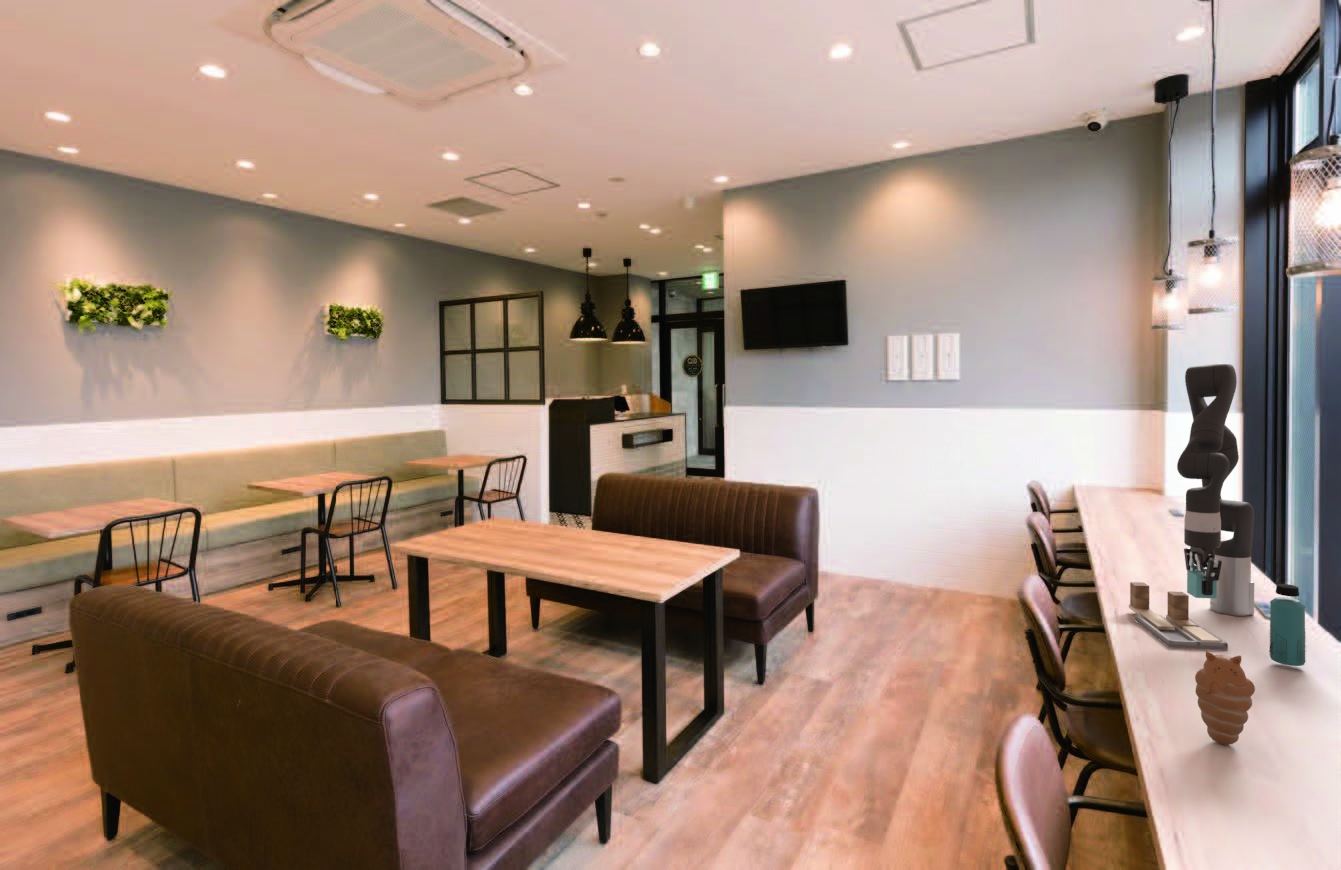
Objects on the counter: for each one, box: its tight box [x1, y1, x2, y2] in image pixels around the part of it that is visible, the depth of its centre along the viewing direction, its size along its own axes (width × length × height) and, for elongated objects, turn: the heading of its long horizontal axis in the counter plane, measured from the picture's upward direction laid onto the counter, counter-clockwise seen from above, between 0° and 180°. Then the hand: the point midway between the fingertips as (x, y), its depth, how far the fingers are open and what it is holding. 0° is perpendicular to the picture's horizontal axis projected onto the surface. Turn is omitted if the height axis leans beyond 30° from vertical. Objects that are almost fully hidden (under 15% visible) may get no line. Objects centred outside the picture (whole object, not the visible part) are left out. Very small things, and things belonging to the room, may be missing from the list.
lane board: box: [1134, 613, 1229, 651], centre depth 183 cm, size 13×21×2 cm, turn 166°
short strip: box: [1165, 591, 1197, 628], centre depth 188 cm, size 4×8×8 cm, turn 166°
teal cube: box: [1186, 570, 1217, 599], centre depth 176 cm, size 5×5×6 cm
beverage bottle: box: [1268, 583, 1307, 667], centre depth 160 cm, size 6×7×20 cm
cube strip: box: [1128, 581, 1175, 630], centre depth 192 cm, size 4×19×8 cm, turn 166°
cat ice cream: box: [1194, 650, 1256, 746], centre depth 128 cm, size 9×8×18 cm
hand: (1201, 591), depth 177 cm, fingers closed on teal cube, 4 cm apart
